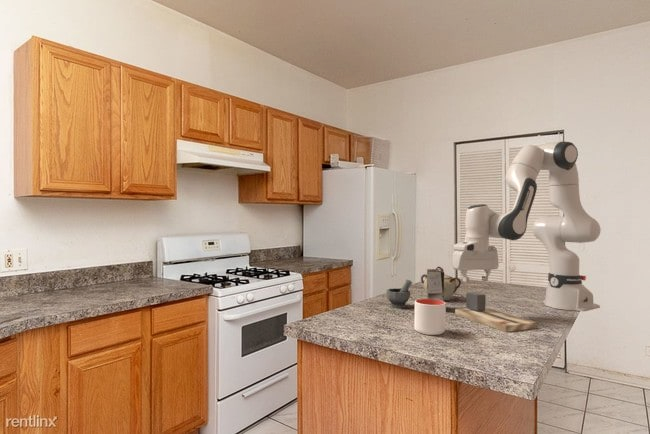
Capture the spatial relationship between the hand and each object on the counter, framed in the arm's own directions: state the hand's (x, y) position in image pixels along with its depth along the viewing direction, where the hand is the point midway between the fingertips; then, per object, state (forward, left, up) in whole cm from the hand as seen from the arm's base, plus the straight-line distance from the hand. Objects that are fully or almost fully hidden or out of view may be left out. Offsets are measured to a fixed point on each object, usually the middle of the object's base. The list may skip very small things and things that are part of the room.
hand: (475, 281), depth 156 cm
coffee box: (+9, -14, -14) cm, 21 cm away
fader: (0, 0, -11) cm, 11 cm away
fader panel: (0, +9, -13) cm, 16 cm away
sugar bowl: (-6, -30, -14) cm, 33 cm away
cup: (+31, +12, -14) cm, 36 cm away
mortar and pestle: (+21, -22, -14) cm, 33 cm away
